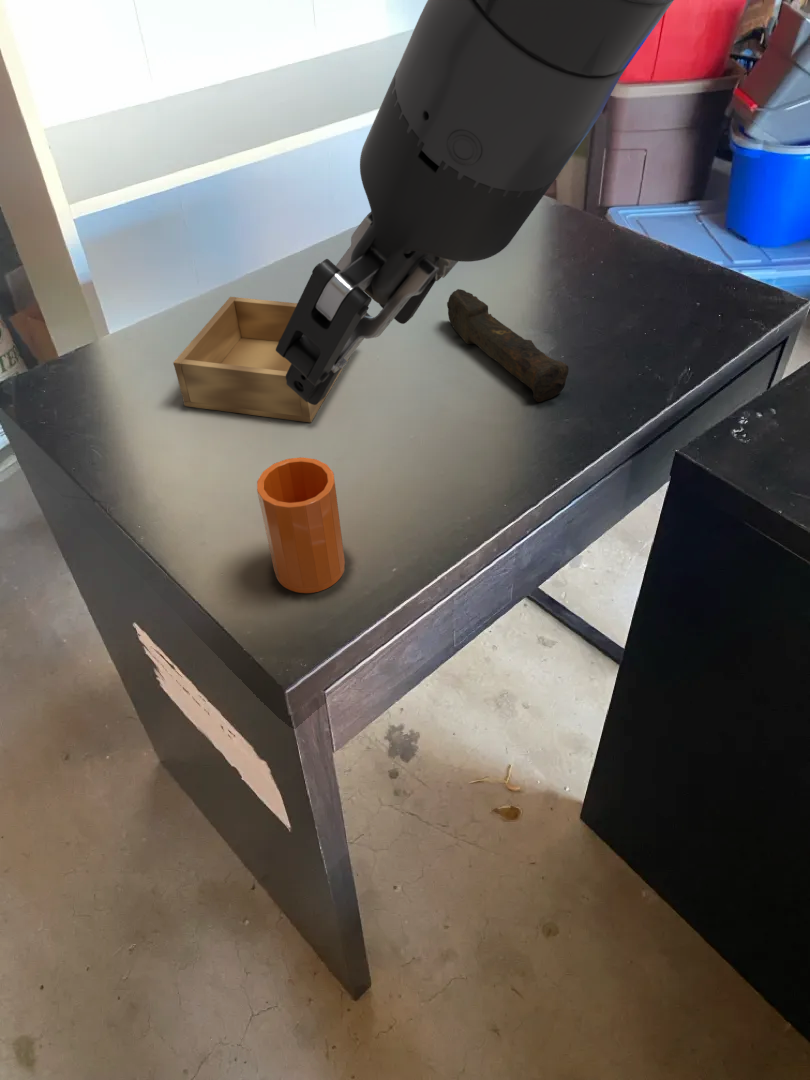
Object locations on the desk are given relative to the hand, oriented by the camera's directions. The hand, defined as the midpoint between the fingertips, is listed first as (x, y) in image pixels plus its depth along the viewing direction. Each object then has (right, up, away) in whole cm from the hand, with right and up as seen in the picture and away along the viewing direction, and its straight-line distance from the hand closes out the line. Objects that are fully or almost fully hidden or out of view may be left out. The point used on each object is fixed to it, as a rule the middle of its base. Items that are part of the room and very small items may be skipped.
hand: (349, 349), depth 46 cm
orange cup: (-5, -13, +20) cm, 24 cm away
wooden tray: (-11, +6, +41) cm, 43 cm away
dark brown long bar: (+12, +8, +42) cm, 44 cm away
